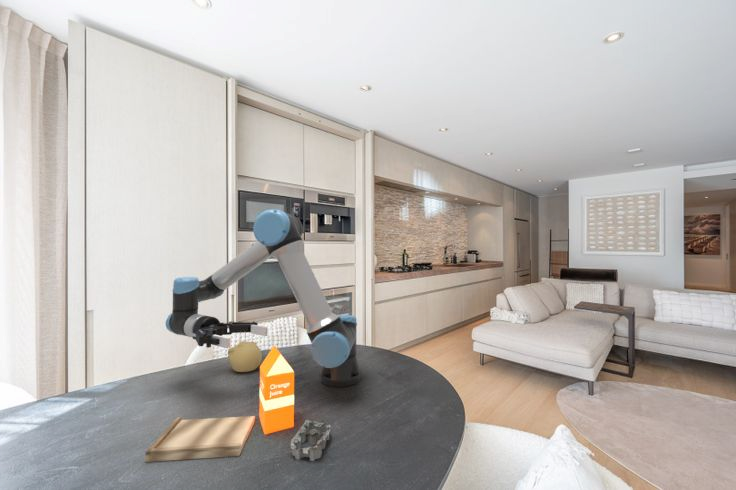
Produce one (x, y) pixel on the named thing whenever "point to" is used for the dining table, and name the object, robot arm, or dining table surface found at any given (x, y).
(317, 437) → the egg carton
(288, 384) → the orange juice
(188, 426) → the serving board
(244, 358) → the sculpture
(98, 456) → the dining table surface
